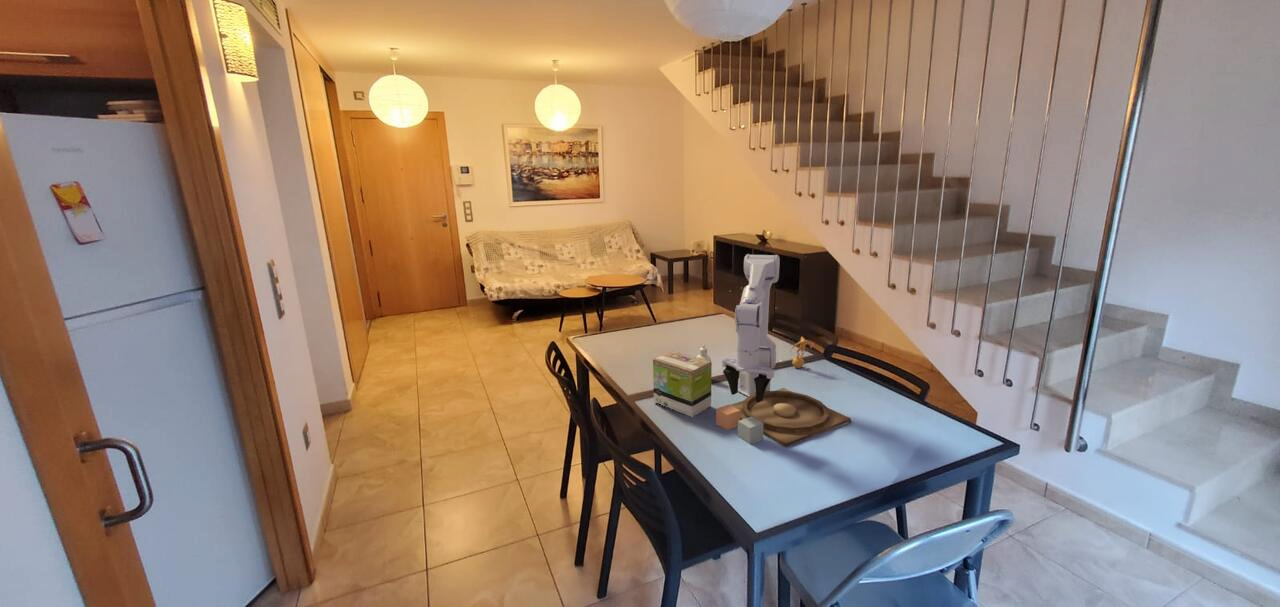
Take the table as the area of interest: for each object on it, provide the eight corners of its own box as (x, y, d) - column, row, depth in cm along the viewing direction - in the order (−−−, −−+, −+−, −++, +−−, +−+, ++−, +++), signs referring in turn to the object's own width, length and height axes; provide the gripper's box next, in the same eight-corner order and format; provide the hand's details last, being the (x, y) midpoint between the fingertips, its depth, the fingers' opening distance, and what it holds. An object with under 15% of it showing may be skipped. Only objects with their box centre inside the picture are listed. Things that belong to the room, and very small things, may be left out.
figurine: (805, 364, 184) (807, 332, 181) (814, 370, 179) (816, 337, 176) (784, 366, 182) (785, 334, 179) (793, 373, 177) (794, 339, 174)
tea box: (652, 404, 156) (651, 358, 153) (673, 393, 163) (672, 349, 160) (692, 418, 146) (691, 370, 143) (712, 406, 153) (712, 360, 150)
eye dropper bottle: (708, 374, 177) (708, 341, 174) (711, 381, 172) (711, 347, 169) (695, 375, 177) (695, 342, 174) (698, 382, 172) (698, 348, 169)
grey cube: (737, 437, 136) (737, 421, 134) (750, 432, 138) (751, 416, 137) (749, 444, 132) (750, 428, 131) (762, 439, 134) (763, 423, 133)
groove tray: (721, 410, 151) (721, 402, 150) (783, 390, 163) (783, 383, 162) (785, 447, 130) (785, 438, 129) (850, 421, 142) (851, 413, 141)
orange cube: (716, 423, 143) (716, 408, 142) (728, 419, 145) (729, 404, 144) (726, 430, 139) (727, 414, 138) (739, 425, 142) (740, 410, 140)
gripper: (715, 346, 136) (715, 394, 139) (764, 358, 126) (763, 409, 129) (730, 340, 141) (730, 387, 144) (779, 351, 131) (777, 400, 134)
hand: (746, 397), depth 137 cm, fingers open, 7 cm apart
